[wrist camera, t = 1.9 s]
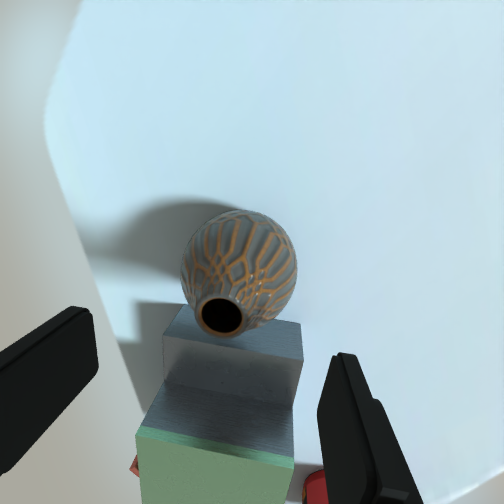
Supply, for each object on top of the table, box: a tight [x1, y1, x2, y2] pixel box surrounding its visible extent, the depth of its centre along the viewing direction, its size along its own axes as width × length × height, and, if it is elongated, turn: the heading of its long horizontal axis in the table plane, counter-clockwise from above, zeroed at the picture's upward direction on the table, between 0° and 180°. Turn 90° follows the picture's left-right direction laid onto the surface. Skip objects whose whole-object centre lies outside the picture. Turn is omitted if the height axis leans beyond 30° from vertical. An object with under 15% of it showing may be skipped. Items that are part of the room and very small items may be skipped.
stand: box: [130, 304, 304, 504], centre depth 20 cm, size 14×11×8 cm
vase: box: [181, 210, 297, 339], centre depth 15 cm, size 7×7×9 cm
